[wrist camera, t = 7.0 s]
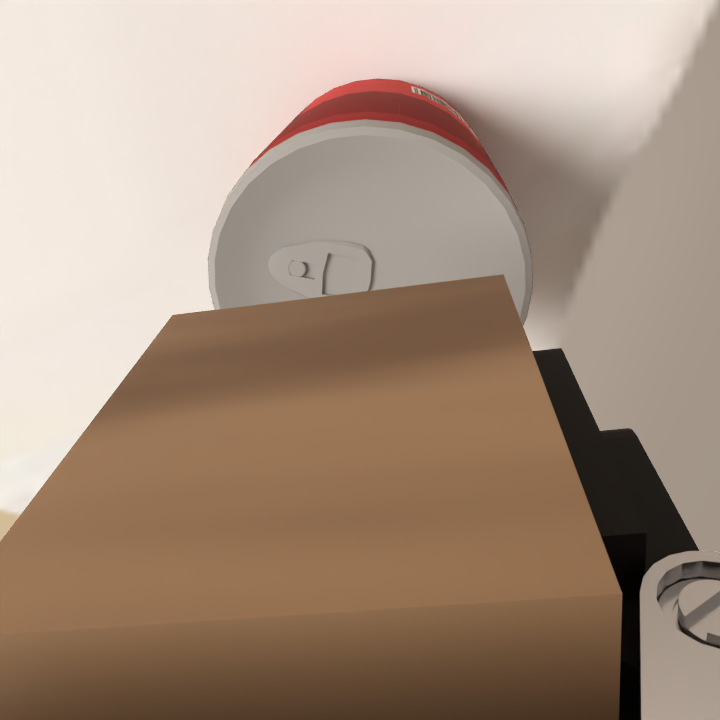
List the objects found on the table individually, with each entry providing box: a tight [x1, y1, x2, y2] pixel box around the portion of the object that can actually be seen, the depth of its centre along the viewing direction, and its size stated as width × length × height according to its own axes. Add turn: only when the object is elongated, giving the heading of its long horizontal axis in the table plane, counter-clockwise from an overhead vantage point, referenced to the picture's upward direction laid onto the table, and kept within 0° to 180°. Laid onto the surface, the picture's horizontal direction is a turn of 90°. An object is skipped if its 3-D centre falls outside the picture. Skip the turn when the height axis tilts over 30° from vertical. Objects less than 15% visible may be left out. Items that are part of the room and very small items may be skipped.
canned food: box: [208, 79, 532, 326], centre depth 21 cm, size 8×8×11 cm
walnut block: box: [0, 274, 622, 720], centre depth 8 cm, size 5×5×6 cm
